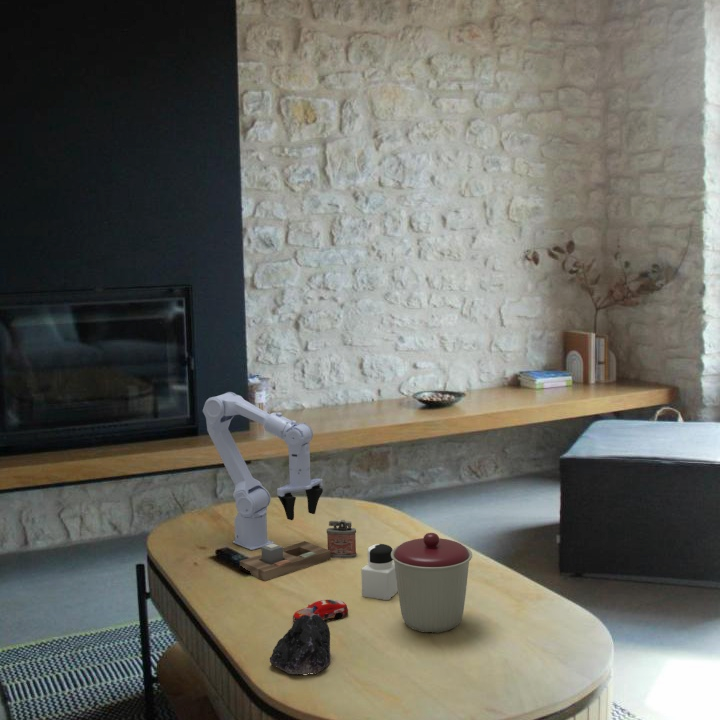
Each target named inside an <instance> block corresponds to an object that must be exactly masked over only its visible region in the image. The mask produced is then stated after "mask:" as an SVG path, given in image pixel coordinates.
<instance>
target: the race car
mask: <svg viewBox="0 0 720 720" xmlns="http://www.w3.org/2000/svg"><path fill="white" fill-rule="evenodd" d="M304 615H308V616H310V617H312V616H313V615H319V616H320V617H321V618H322V619H323V620H324V621H325V623H327V622H330V621H335V620H336V621H337V620H342V618H345V617H347V616H348V615H349V609H348V606H347V603H345V602H344V601H342V600H338V599H322V600H318V601H315V602H312V603H311V604H308V606H307V607H304V608H302V609H299V610H297V611H295V612H294V613H293V615H292V622H293V623H294V622H295V621H296V620H297V619H298V618H299V617H301V616H304Z"/></svg>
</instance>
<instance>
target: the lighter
mask: <svg viewBox="0 0 720 720" xmlns="http://www.w3.org/2000/svg"><path fill="white" fill-rule="evenodd" d="M328 527H329V528H327V529H326V534H327V535H326V536H327V538H326V539H327V540H326V541H327V550H330V551H331V559H332V558H333V559H334V558H335V559H352V558H353V559H354V558H356V557H358V556H357V555H358V553H357V550H356V548H357V543H356V541H357V539H356V533H357V529H356V528H354V527H352V521H347V520H345V519H340V520H329V521H328Z"/></svg>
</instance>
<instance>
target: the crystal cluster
mask: <svg viewBox="0 0 720 720" xmlns="http://www.w3.org/2000/svg"><path fill="white" fill-rule="evenodd" d="M269 663H270V664H271V666H273V665H274V666H273V667H276V666H277V667H276V668H278V669H279V670H282V671H284V672H286V674H291V675H298V674H308V673H309V674H310V673H313V675H316V674H315V673H317V674H318V673H319V672H321V671H323V670H324V669H325V668H327V667H328V666H329V664H330V663H331V631H330V627H329V625H328V623H327V622H325V621H324V620H323V619H322V618H321V617H320V616H319V615H313V616H312V617H310V616H308V615H304V616H301V617H299V618H298V619H297V620H296V621H295V622H293V623H292V626H291V628H289V629H288V630H287V632H286V633H285V634H284V635H283V637H282V638H280V639H278V640H277V643H276V645H275V646H274V648H273V649H272V654H271V655H270V657H269ZM322 669H323V670H322Z"/></svg>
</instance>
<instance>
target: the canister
mask: <svg viewBox="0 0 720 720" xmlns="http://www.w3.org/2000/svg"><path fill="white" fill-rule="evenodd" d="M391 558H392V559H393V562H394V564H395V572H396V580H397V588H398V592H397V593H398V594H397V595H398V602H399V607H400V614H401V618H402V619H403V621H404V623H405V624H406V625H407V627H409V628H410V629H412V630H415V631H418V632H421V631H422V632H423V633H428V632H432V634H434V633H433V632H436V633H443V631H445V632H448V631H451V630H453V629H455V628H456V627H457V626H458V625H459V624H460V623H461V621H462V618H463V615H464V610H465V602H466V595H467V586H468V585H467V584H468V576H469V575H468V574H469V565H470V561H471V560H472V558H473V552H472V550H471V549H470V548H468V547H467V546H464V544H462V543H461V542H458V541H455V540H453V539H446V538H440V537H439V535H438V534H436V532H427V533H426V534H424V535H423V538H415V539H410V540H407V541H405V542H403V543H400V544H399V545H398V546H396V547H394V548H392V552H391ZM452 628H453V629H452Z"/></svg>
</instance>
